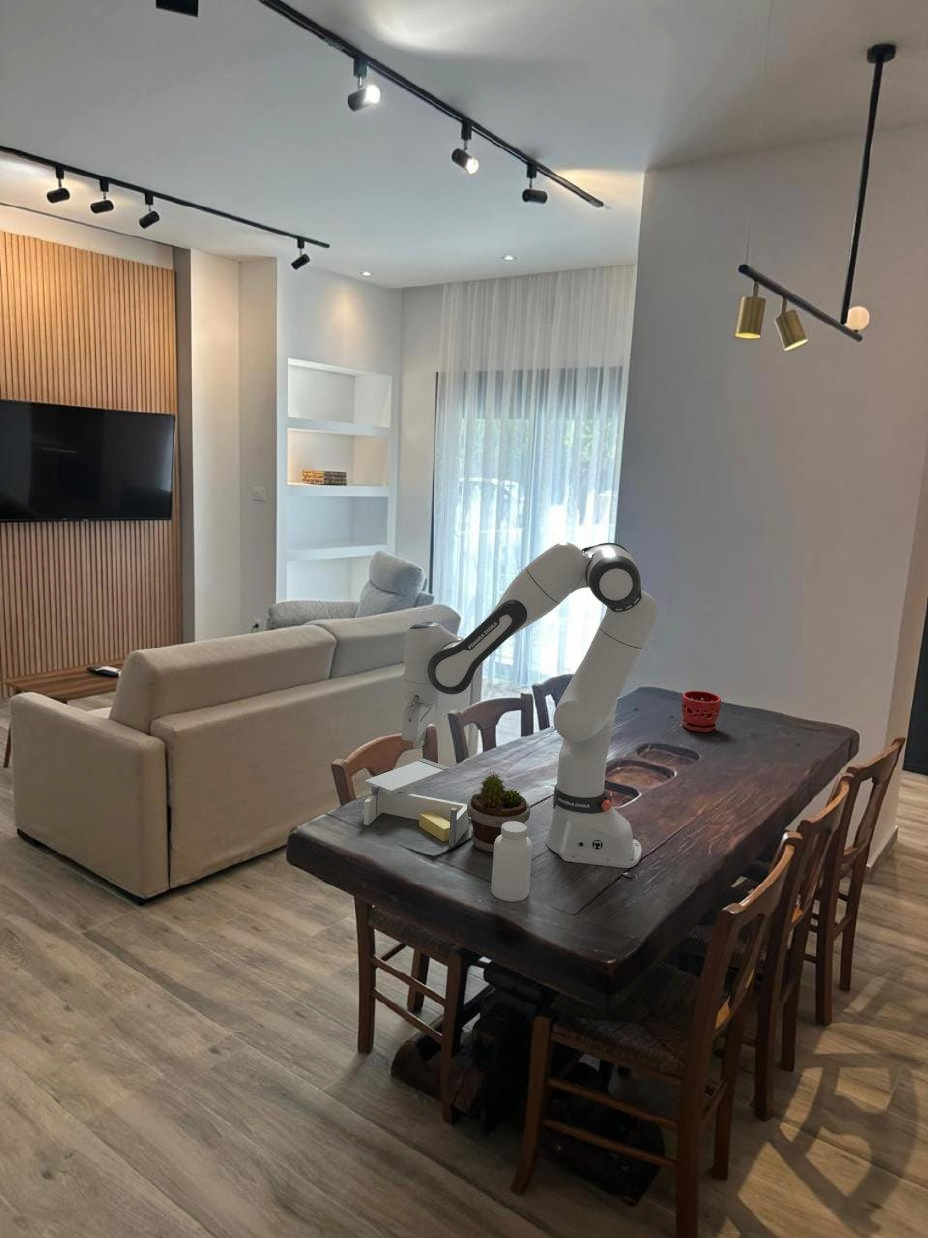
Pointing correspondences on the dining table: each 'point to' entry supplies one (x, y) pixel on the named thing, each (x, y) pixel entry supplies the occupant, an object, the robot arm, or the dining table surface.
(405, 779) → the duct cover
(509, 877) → the pill bottle
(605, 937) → the dining table surface
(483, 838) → the flowerpot
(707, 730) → the plant pot
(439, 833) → the yellow rectangular block
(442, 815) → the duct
